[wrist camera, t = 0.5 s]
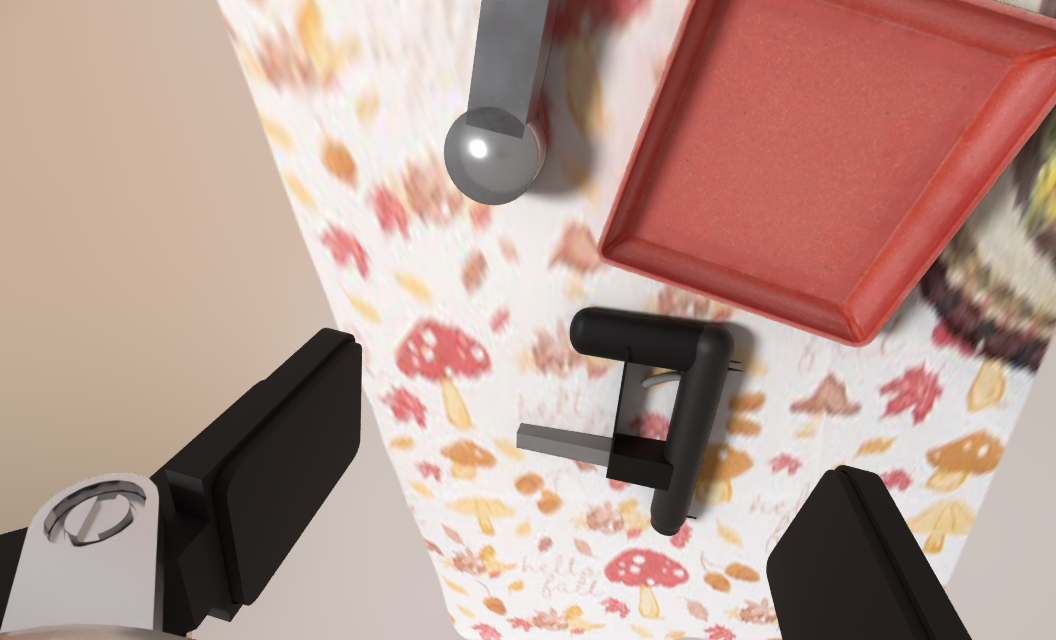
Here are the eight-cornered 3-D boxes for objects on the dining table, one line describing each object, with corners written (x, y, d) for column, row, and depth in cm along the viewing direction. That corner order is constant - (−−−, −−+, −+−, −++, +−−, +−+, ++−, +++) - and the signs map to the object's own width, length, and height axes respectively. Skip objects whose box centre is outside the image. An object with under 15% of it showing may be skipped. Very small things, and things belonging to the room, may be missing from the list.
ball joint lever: (497, -133, 26) (478, -156, 23) (603, -110, 26) (598, -130, 23) (457, 178, 34) (439, 192, 31) (536, 198, 34) (526, 215, 31)
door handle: (512, 501, 46) (696, 545, 43) (518, 306, 36) (758, 344, 33) (521, 474, 49) (695, 513, 45) (530, 287, 39) (752, 320, 36)
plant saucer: (595, 243, 35) (591, 261, 32) (711, -74, 26) (720, -87, 23) (847, 326, 35) (865, 353, 32) (1058, 34, 25) (1112, 34, 22)
